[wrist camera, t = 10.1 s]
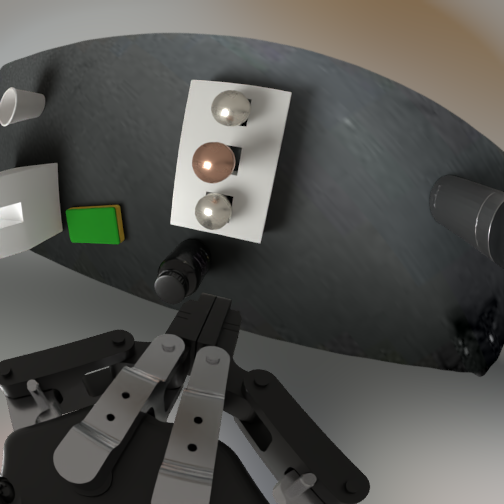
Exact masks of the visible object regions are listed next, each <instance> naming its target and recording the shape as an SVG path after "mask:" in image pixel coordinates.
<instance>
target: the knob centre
mask: <svg viewBox="0 0 504 504" xmlns="http://www.w3.org/2000/svg"><path fill="white" fill-rule="evenodd" d="M192 167H193V171H194V173H195V174H196V176H197V177H198V178H199V179H200V180H202V181H204V182H206V183H218V182H221V181H223V180H225V179H226V178H228V177H229V176H230V175H231V174H232V172H233V170H234V168H235V156H234V153H233V151H232V150H231V149H230V148H229V147H228V146H227V145H225V144H223V143H220V142H208V143H205V144H203V145H201V146H200V147H199V148H198V149H197V150H196V151H195V153H194V155H193V158H192Z"/></svg>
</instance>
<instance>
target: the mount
mask: <svg viewBox="0 0 504 504" xmlns="http://www.w3.org/2000/svg"><path fill="white" fill-rule="evenodd" d="M227 90H235V91H238V92H241V93H242V94H243V95H244V96H245V97H246V98H247V99H248V101H249V102H250V104H251V105H250V106H251V111H250V115H249V117H248V121H247V126H246V127H245V126H239V125H238V126H234V127H229V126H225V125H222V124H220V123H218V122H217V121H216V120H215V119H214V117H213V115H212V112H211V106H212V102H213V100H214V99H215V97H216V96H217V95H219V94H220V93H222V92H224V91H227ZM291 93H292V92H287V91H282V90H277V89H271V88H265V87H259V86H252V85H244V84H236V83H227V82H216V81H203V80H192V81H191V85H190V90H189V95H188V100H187V105H186V111H185V116H184V122H183V128H182V134H181V140H180V146H179V153H178V160H177V168H176V176H175V184H174V193H173V202H172V213H171V224H172V225H177V226H182V227H187V228H191V229H196V230H201V231H205V232H210V233H215V234H219V235H224V236H228V237H233V238H238V239H242V240H247V241H251V242H256V243H260V242H261V239H262V235H263V231H264V226H265V222H266V217H267V212H268V207H269V203H270V198H271V193H272V188H273V184H274V179H275V174H276V169H277V164H278V159H279V155H280V150H281V145H282V140H283V135H284V130H285V125H286V121H287V116H288V111H289V106H290V101H291ZM208 142H220V143H223V144H225V145H229V146H235V147H241V148H242V152H241V157H240V163H239V168H238V171H233V172H232V174H231V175H230V176H229V177H228V178H226V179H225V180H223V181H221V182H218V183H206V182H204V181H202V180H200V179H199V178H198V177H197V176H196V174H195V173H194V171H193V167H192V158H193V155H194V153H195V151H196V150H197V149H198V148H199V147H200V146H201V145H203V144H205V143H208ZM210 193H219V194H222V195H228V196H233V202H232V214H231V217H230V219H229V221H228V222H227V223H226V225H225V226H223V227H222V228H220V229H217V230H210V229H206V228H204V227H203V226H202V225H200V223H199V222H198V221H197V219H196V216H195V207H196V204H197V202H198V201H199V200H200V199H201V198H202V197H204V196H206V195H207V194H210Z"/></svg>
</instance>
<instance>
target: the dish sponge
mask: <svg viewBox="0 0 504 504" xmlns="http://www.w3.org/2000/svg"><path fill="white" fill-rule="evenodd" d="M66 217H67V223H68V228H69V234H70V239H71V241H72V242H78V243H103V244H120V243H121V242H122V241H124V239H125V238H124V231H123V224H122V217H121V209H120V206H119V205H105V206H87V207H72V208H70V209H67V210H66Z"/></svg>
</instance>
